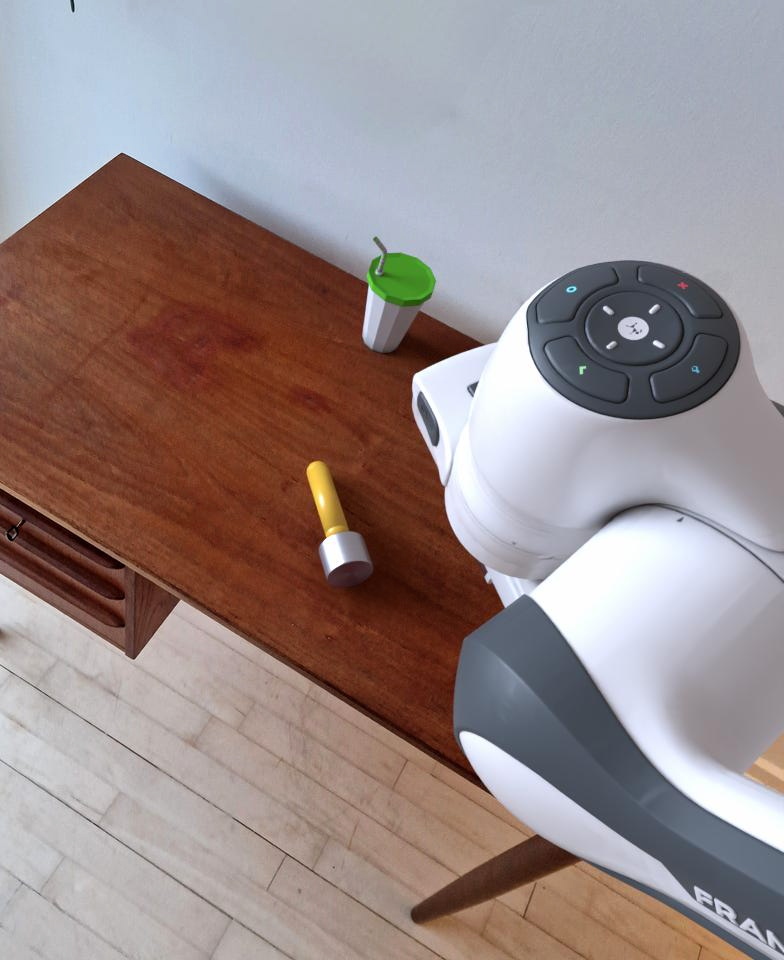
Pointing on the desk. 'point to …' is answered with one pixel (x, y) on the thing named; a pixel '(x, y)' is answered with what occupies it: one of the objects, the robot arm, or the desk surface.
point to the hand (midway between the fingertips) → (489, 561)
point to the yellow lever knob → (337, 534)
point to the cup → (394, 297)
